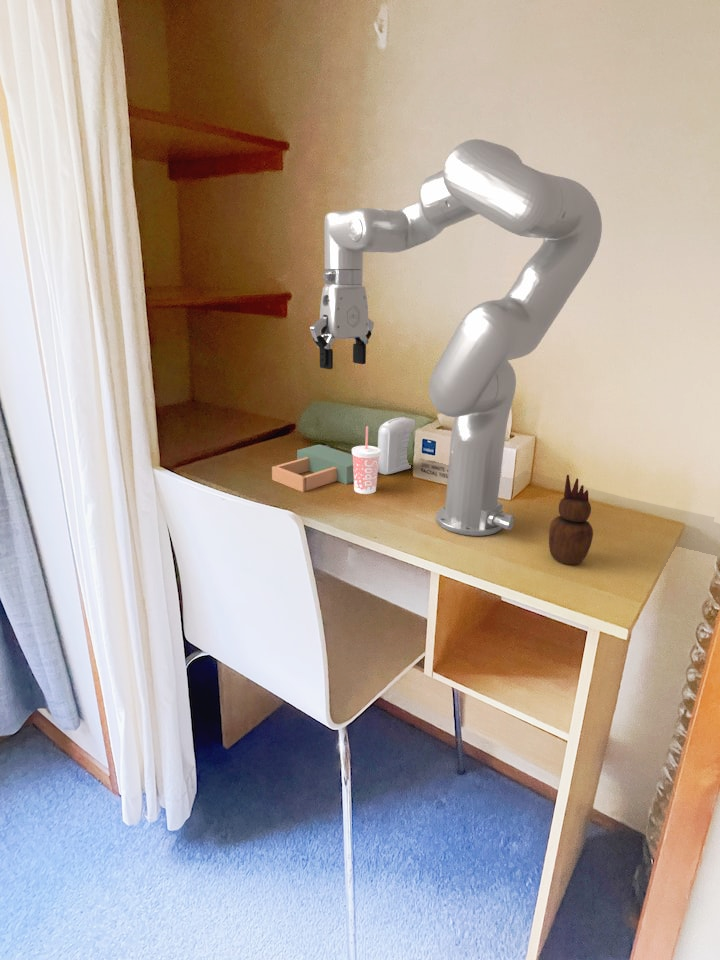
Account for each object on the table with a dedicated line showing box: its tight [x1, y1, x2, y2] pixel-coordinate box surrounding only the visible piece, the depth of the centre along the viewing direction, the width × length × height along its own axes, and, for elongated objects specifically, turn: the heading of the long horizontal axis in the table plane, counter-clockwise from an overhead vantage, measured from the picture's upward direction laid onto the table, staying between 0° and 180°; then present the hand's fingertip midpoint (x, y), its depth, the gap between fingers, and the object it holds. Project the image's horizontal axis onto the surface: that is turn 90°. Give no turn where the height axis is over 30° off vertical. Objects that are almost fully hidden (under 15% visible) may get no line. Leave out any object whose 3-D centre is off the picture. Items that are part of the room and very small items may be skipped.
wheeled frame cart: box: [271, 443, 354, 493], centre depth 138 cm, size 16×18×4 cm
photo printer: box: [377, 416, 416, 475], centre depth 142 cm, size 10×4×12 cm, turn 134°
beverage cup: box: [351, 425, 381, 495], centre depth 129 cm, size 6×6×14 cm
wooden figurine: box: [548, 474, 594, 566], centre depth 101 cm, size 7×6×15 cm
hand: (343, 365), depth 128 cm, fingers open, 9 cm apart
